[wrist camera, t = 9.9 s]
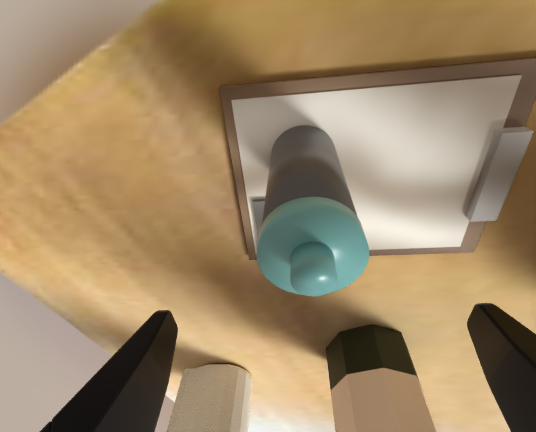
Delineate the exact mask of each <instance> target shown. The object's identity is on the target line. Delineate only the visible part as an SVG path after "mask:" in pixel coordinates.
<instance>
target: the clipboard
mask: <svg viewBox="0 0 536 432" xmlns="http://www.w3.org/2000/svg"><path fill="white" fill-rule="evenodd" d="M219 91H220V97H221V102H222V108H223V114H224V119H225V125H226V131H227V136H228V142H229V147H230V153H231V159H232V164H233V170H234V176H235V181H236V187H237V193H238V198H239V204H240V209H241V215H242V221H243V226H244V232H245V238H246V243H247V249H248V255H249V260H257V247H258V240H259V232H260V229H261V226H262V219H263V212H264V204H265V196H266V189H267V181H268V174H269V166H270V158H271V151H272V147H273V145H274V143H275V141H276V140H277V138H278V137H279V136H280V135H281V134H282V133H283V132H285V131H286V130H288V129H290V128H292V127H295V126H300V125H309V126H314V127H317V128H319V129H321V130H323V131H324V132H325V133H327V134H328V135H329V136H330V138H331V139H332V141H333V143H334V146H335V149H336V152H337V155H338V158H339V161H340V164H341V167H342V170H343V173H344V176H345V180H346V183H347V186H348V189H349V192H350V195H351V198H352V201H353V204H354V207H355V210H356V213H357V217H358V218H359V220H360V222H361V225H362V228H363V231H364V234H365V237H366V240H367V243H368V246H369V256H379V255H409V254H438V253H468V252H474V251H475V248H476V246H477V243H478V241H479V238H480V236H481V233H482V231H483V228H484V226H485V223H486V221H496V220H497V218H498V215H499V213H500V211H501V208H502V206H503V203H504V201H505V199H506V196H507V194H508V192H509V189H510V187H511V185H512V182H513V180H514V177H515V175H516V173H517V170H518V168H519V166H520V163H521V161H522V159H523V156H524V154H525V152H526V149H527V147H528V144H529V142H530V140H531V137H532V135H533V133H534V131H532V130H530V129H528V128H526V127H524V126H525V124H526V121H527V119H528V116H529V114H530V111H531V109H532V106H533V104H534V101H535V99H536V57H531V58H521V59H510V60H499V61H488V62H477V63H466V64H456V65H445V66H434V67H423V68H412V69H401V70H391V71H380V72H369V73H358V74H347V75H336V76H326V77H315V78H304V79H293V80H282V81H272V82H261V83H250V84H239V85H228V86H220V87H219Z"/></svg>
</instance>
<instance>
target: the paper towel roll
mask: <svg viewBox="0 0 536 432" xmlns="http://www.w3.org/2000/svg"><path fill="white" fill-rule="evenodd" d="M251 391H252V378H251V375H250V374H249V373H248V372H247V371H246V370H244V369H242V368H240V367H238V366H234V365H230V364H210V365H204V366H201V367H198V368H190V369H189V368H185V369H184V372H183V376H182V379H181V383H180V386H179V390H178V393H177V397H176V400H175V404H174V408H173V411H172V415H171V418H170V421H169V425H168V428H167V432H248V423H249V412H250V402H251Z"/></svg>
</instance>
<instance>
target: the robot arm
mask: <svg viewBox="0 0 536 432" xmlns="http://www.w3.org/2000/svg"><path fill="white" fill-rule="evenodd" d="M467 327H468V331H469V333H470V336H471V339H472V342H473V344H474V347H475V350H476V353H477V355H478V358H479V361H480V364H481V366H482V369H483V372H484V375H485V377H486V380H487V382H488V384H489V387H490V389H491V391H492V393H493V395H494V397H495V399H496V402H497V404H498V406H499V408H500V410H501V412H502V414H503V416H504V418H505V420H506V422H507V424H508V426H509V428H510V431H511V432H536V334H535V333H533V332H532V331H531V330H529V329H528V328H526V327H525V326H524V325H522V324H521V323H520V322H518V321H517V320H515V319H514V318H513V317H511V316H510V315H508V314H507V313H506V312H504V311H503V310H502V309H500V308H499V307H497V306H496V305H494V304H491V303H479V304H476V305H475V306H474V308H473V310H472V312H471V314H470V316H469V319H468V321H467ZM177 333H178V328H177V324H176V322H175V320H174V318H173V315H172V313H171V312H170V311H169V310H159V311H156V312H155V313H154V314H153V315H152V316H151V317H150V318H149V319H148V320H147V321H146V322H145V323H144V324H143V325H142V326H141V327H140V328H139V329H138V330H137V331H136V332H135V333H134V335H133V336H132V337H131V338H130V339H129V340H128V341H127V342H126V343H125V344H124V345H123V346H122V347H121V348H120V349H119V350H118V351H117V352H116V353H115V354H114V355H113V356H112V357H111V359H109V360H108V362H107V363H106V364H105V365H104V366H103V367H102V368H101V369H100V370H99V371H98V372H97V373H96V374H95V375H94V376H93V377H92V378H91V379H90V380H89V381H88V382H87V383H86V384H85V385H84V387H83V388H82V389H81V390H80V391H79V392H78V393H77V394H76V395H75V396H74V397H73V398H72V399H71V400H70V401H69V402H68V403H67V404H66V405H65V406H64V407H63V408H62V409H61V411H59V413H57V414H56V416H55V417H54V418H53V419H52V422H49V423H48V424H47V425H46V426H45V427H44V428H43V429H42V430H41V431H40V432H154V431H155V428H156V425H157V421H158V418H159V414H160V411H161V407H162V403H163V400H164V397H165V393H166V390H167V386H168V382H169V377H170V372H171V367H172V361H173V355H174V350H175V344H176V339H177Z"/></svg>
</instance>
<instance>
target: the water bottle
mask: <svg viewBox="0 0 536 432" xmlns="http://www.w3.org/2000/svg"><path fill="white" fill-rule="evenodd" d="M368 259H369V246H368V243H367V240H366V237H365V234H364V231H363V228H362V225H361V222H360V220H359V218H358V217H357V213H356V210H355V207H354V204H353V201H352V198H351V195H350V192H349V189H348V186H347V183H346V180H345V176H344V173H343V170H342V167H341V164H340V161H339V158H338V155H337V152H336V149H335V146H334V143H333V141H332V139H331V138H330V136H329V135H328V134H327V133H325V132H324V131H323V130H321V129H319V128H317V127H314V126H309V125H300V126H295V127H292V128H290V129H288V130H286V131H285V132H283V133H282V134H281V135H280V136H279V137H278V138H277V140H276V141H275V143H274V145H273V147H272V151H271V158H270V166H269V174H268V181H267V189H266V196H265V204H264V212H263V219H262V226H261V229H260V232H259V240H258V247H257V262H258V265H259V268H260V270H261V272H262V273H263V275H264V276H265V277H266V278H267V279H268V280H269V281H270V282H271V283H273V284H274V285H275V286H277V287H279V288H281V289H283V290H285V291H288V292H291V293H295V294H301V295H306V296H321V295H325V294H327V293H332V292H335V291H338V290H340V289H342V288H344V287H346V286H348V285H350V284H351V283H352V282H354V281H355V280H356V279H357V278H358V277H359V276H360V275H361V274H362V272H363V271H364V269H365V268H366V265H367V263H368Z"/></svg>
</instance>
